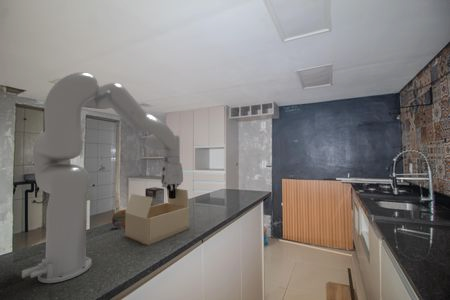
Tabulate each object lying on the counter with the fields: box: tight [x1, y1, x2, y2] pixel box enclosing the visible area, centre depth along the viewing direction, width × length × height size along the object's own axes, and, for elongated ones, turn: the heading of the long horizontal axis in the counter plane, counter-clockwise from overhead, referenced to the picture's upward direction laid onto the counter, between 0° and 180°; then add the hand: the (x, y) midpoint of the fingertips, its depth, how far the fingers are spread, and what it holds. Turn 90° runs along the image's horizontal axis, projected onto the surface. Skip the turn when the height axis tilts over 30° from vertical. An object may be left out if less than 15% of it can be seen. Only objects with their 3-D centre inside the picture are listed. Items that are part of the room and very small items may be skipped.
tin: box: [111, 209, 126, 230], centre depth 99 cm, size 15×3×8 cm, turn 129°
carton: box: [124, 202, 190, 246], centre depth 91 cm, size 22×17×10 cm
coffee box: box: [144, 186, 165, 206], centre depth 113 cm, size 9×6×16 cm
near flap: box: [125, 193, 153, 219], centre depth 83 cm, size 8×14×1 cm
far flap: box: [166, 188, 190, 208], centre depth 100 cm, size 8×14×1 cm
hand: (172, 198), depth 97 cm, fingers closed
